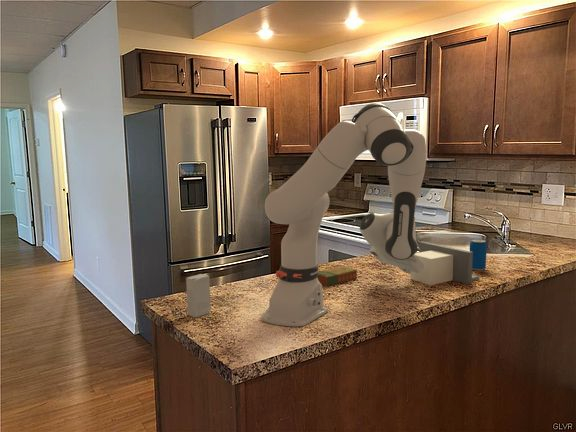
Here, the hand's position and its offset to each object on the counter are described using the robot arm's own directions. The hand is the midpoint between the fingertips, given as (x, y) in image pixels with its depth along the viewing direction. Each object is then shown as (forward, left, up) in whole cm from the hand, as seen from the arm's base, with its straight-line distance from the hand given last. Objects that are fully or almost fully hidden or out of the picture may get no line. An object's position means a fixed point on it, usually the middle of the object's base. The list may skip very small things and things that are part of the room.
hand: (408, 271), depth 172 cm
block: (+9, -7, -5) cm, 13 cm away
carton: (-5, +27, -5) cm, 28 cm away
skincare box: (-56, +54, -5) cm, 78 cm away
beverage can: (+32, -23, -5) cm, 40 cm away
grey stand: (+18, -13, -5) cm, 23 cm away
